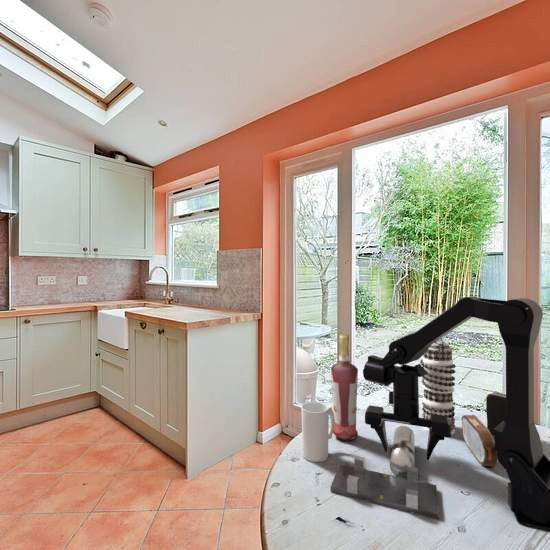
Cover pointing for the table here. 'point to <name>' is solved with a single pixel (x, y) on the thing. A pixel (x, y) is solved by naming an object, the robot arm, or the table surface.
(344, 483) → the cradle
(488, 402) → the battery charger
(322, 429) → the mug
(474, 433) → the tin
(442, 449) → the table surface
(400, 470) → the tube
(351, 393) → the liquor
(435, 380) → the decorative candle
